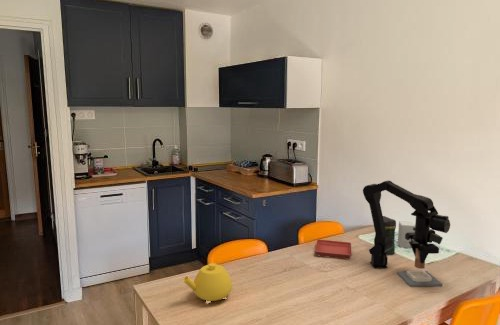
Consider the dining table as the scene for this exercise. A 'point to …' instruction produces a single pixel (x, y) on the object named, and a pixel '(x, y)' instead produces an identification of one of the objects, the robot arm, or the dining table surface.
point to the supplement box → (403, 229)
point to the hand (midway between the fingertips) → (419, 261)
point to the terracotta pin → (418, 261)
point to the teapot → (211, 283)
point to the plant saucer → (333, 248)
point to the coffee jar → (390, 231)
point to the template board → (418, 278)
